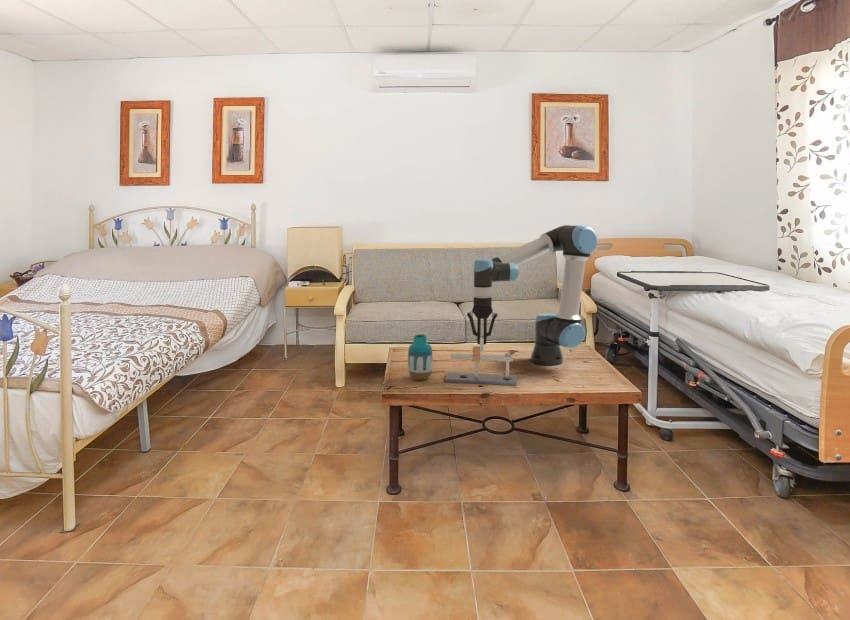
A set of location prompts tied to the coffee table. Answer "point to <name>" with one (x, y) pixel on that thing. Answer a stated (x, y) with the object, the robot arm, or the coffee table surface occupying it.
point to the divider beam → (487, 359)
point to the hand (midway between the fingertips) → (481, 351)
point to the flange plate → (481, 378)
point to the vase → (420, 358)
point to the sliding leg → (476, 358)
